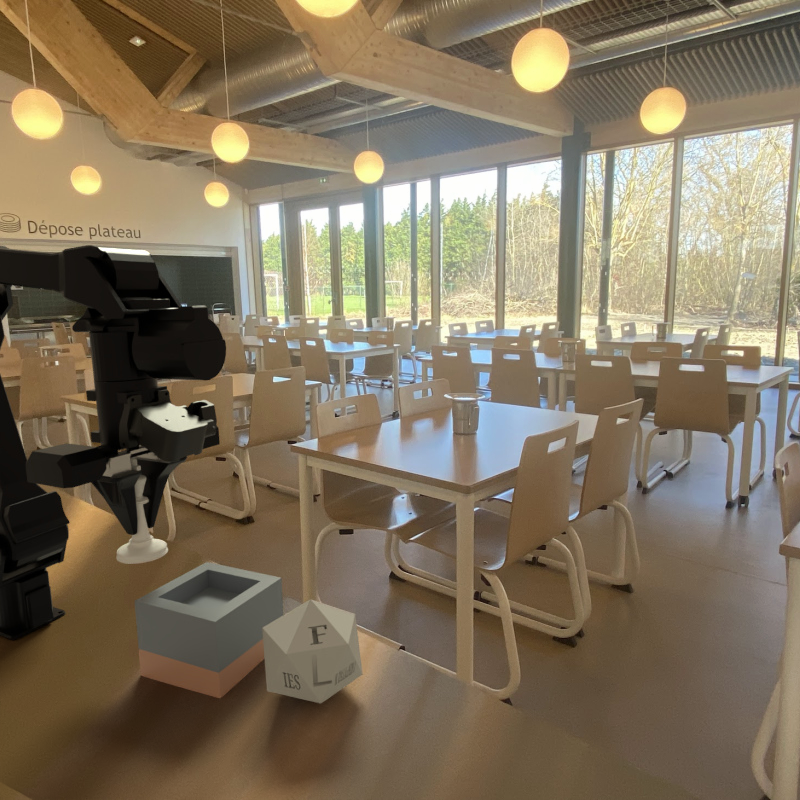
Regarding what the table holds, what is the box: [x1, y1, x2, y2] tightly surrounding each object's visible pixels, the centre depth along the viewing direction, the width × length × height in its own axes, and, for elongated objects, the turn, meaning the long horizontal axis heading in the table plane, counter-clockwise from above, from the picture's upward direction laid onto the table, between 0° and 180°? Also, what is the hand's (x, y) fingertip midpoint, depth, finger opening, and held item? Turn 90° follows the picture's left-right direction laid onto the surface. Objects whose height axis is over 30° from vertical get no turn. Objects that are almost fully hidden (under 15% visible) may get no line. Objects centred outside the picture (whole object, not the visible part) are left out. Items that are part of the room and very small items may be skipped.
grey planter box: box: [134, 561, 284, 699], centre depth 65 cm, size 10×10×8 cm
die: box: [262, 599, 364, 704], centre depth 58 cm, size 8×9×10 cm
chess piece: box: [115, 458, 169, 565], centre depth 65 cm, size 5×5×10 cm
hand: (140, 530), depth 66 cm, fingers closed on chess piece, 2 cm apart
